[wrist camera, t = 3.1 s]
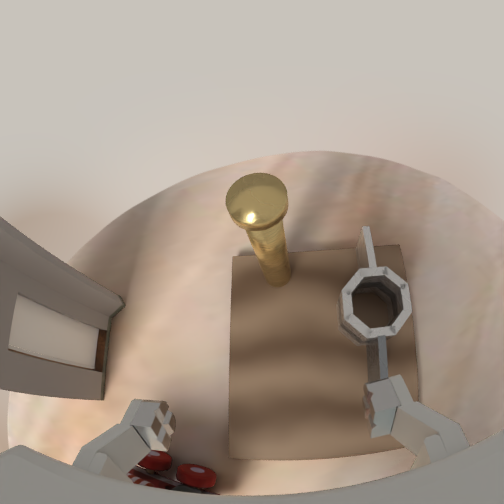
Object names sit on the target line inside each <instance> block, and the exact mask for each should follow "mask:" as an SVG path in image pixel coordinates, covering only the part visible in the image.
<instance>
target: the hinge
mask: <svg viewBox="0 0 504 504" xmlns="http://www.w3.org/2000/svg"><path fill="white" fill-rule="evenodd" d="M355 250H356V257H357V264H358V271H357V272H356V273H355V275H354V276H353V277H352V278H351V279H350V281H349V282H348V283H347V284H346V285H345V287H344V288H343V289H342V290H341V293H340V296H339V299H338V302H337V304H336V307H337V320H338V330H339V331H340V332H341V333H343V334H344V335H345V336H346V337H347V338H348V339H350V340H351V341H352V342H353V343H354V344H355V345H357V346H361V345H366V350H367V368H368V382H372V381H376V380H380V379H384V378H388V362H387V348H386V340H388V339H390V338H391V337H393V336H395V335H396V334H397V332H398V331H399V330H400V328H401V327H402V326H403V324H404V323H405V321H406V320H407V319H408V317H409V316H410V314H411V313H412V306H411V299H410V293H409V287H408V283H407V282H405V281H404V280H403V279H402V278H400V277H399V276H398V275H397V274H395V273H394V272H393V271H392V270H390V269H389V268H388V267H387V266H384V267H377V265H376V259H375V253H374V248H373V243H372V237H371V232H370V227H369V226H362V229H361V233H360V236H359V239H358V243H357V246H356V249H355ZM370 292H374V293H375V294H376V295H377V296H378V297H380V298H381V299H382V300H383V301H385V302H386V303H387V309H388V317H389V322H388V323H387V325H386V326H385V327H379V328H371V329H370V328H369V327H368V326H366V325H365V324H364V323H363V322H362V321H361V320H359V319H358V318H357V317H356V316H355V315H353V306H352V298H353V297H354V295H355V294H359V293H370Z"/></svg>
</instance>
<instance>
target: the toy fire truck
mask: <svg viewBox="0 0 504 504" xmlns="http://www.w3.org/2000/svg"><path fill="white" fill-rule="evenodd" d="M171 462H172V458H171V456H170V455H168V454H167V453H165V452H163V451H158V450H151V451H150V452H149V453H148V454H147V455H146V456H145V457H144V458H143V459H142V460H141V461H140V462H139V463H138V465H139V466H141V467H143V468H141V467H139V466H136V465H135V466H134V467H133V468H132V469H131V470H130V471H129V472H128V473H127V474H126V475H127V476H128V477H129V478H130V479H131V480H132V481H133V483H134V484H139V485H144V486H149V487H154V488H160V489H166V490H173V491H180V492H189V493H199V494H211V495H220V494H216V493H212V492H209V491H206V490H203V489H202V488H211V487H213V486H214V485H215V481H216V473H215V472H214V471H212V470H211V469H209V468H206V467H203V466H199V465H194V464H182V465H180V466H178V468H177V473H176V477H177V480H178V481H179V482H177V481H175V480H172V479H169V478H166V477H163V476H161V475H159V474H158V473H157V472H155V471H165V470H169V469H170V467H171ZM144 468H146V469H144ZM180 482H181V483H180Z"/></svg>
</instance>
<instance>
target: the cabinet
mask: <svg viewBox="0 0 504 504" xmlns="http://www.w3.org/2000/svg"><path fill="white" fill-rule="evenodd" d="M124 307H125V304H124V302H123V300H122V298H121V297H120V296H118V295H117V294H115V293H113V292H112V291H110V290H108V289H106V288H105V287H103V286H101V285H100V284H98V283H96V282H95V281H93V280H91V279H90V278H88V277H87V276H85V275H83V274H82V273H80V272H78V271H77V270H75V269H74V268H72V267H71V266H69V265H68V264H66V263H64V262H63V261H61V260H60V259H58V258H57V257H55V256H54V255H52V254H51V253H49V252H48V251H46V250H45V249H44V248H42V247H41V246H39V245H38V244H36V243H35V242H34V241H32V240H31V239H29V238H28V237H27V236H25V235H24V234H23V233H21V232H20V231H19V230H17V229H16V228H14V227H13V226H12V225H11V224H9V223H8V222H7V221H5V220H4V219H3V218H2V217H0V389H3V390H8V391H13V392H19V393H26V394H33V395H41V396H49V397H59V398H70V399H85V400H104V386H105V373H106V362H107V352H108V343H109V335H110V328H111V321H112V318H113V317H114V316H115V315H116V314H117V313H118V312H119V311H120V310H121V309H122V308H124ZM11 345H12V346H11ZM24 349H25V350H24ZM31 351H32V352H31ZM38 353H39V354H38Z"/></svg>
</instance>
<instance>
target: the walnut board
mask: <svg viewBox="0 0 504 504" xmlns="http://www.w3.org/2000/svg"><path fill="white" fill-rule="evenodd" d="M373 248H374V253H375V259H376V265H377V267H384V266H387V267H388V268H389V269H390V270H392V271H393V272H394V273H395V274H397V275H398V276H399V277H400V278H402V279H403V280H404V281H405V282H407V279H406V274H405V268H404V263H403V258H402V254H401V249H400V245H388V246H374V247H373ZM355 249H356V248H347V249H333V250H319V251H305V252H291V253H288V258H289V264H290V270H291V278H290V280H289V282H288V283H287V284H286V285H284V286H282V287H273V286H271V285H269V284H268V283H267V282H266V279H265V277H264V274H263V272H262V269H261V267H260V264H259V262H258V259H257V257H256V255H248V256H234V257H233V260H232V288H231V322H230V364H229V451H228V458H235V459H250V460H313V459H328V458H339V457H349V456H357V455H364V454H371V453H378V452H383V451H389V450H394V449H399V448H404V447H405V446H404V445H402V444H401V443H400V442H399V441H397V440H396V439H395V438H394V437H393V436H391V434H388V435H384V436H379V437H375V438H370V435H369V431H368V428H367V423H368V420H367V419H366V418H365V416H364V412H363V404H362V400H363V396H364V395H365V394H364V390H363V387H364V383H367V382H368V368H367V350H366V345H361V346H357V345H355V344H354V343H353V342H352V341H351V340H350V339H348V338H347V337H346V336H345V335H344V334H343V333H341V332H340V331H339V330H338V320H337V307H336V304H337V302H338V299H339V296H340V293H341V290H342V289H343V288H344V287H345V285H346V284H347V283H348V282H349V281H350V279H351V278H352V277H353V276H354V275H355V273H356V272H357V271H358V264H357V257H356V250H355ZM352 306H353V315H355V316H356V317H357V318H358V319H359V320H361V321H362V322H363V323H364V324H365V325H366V326H368V327H369V328H370V329H371V328H379V327H385V326H386V325H387V323H388V322H389V317H388V309H387V303H386V302H385V301H383V300H382V299H381V298H380V297H378V296H377V295H376V294H375V293H374V292H370V293H359V294H355V295H354V297H353V298H352ZM386 348H387V362H388V377H392V376H396V375H401V376H402V378H403V380H404V382H405V384H406V386H407V388H408V390H409V393H410V395H411V397H412V399H413V401H414V402H416V401H418V374H417V358H416V346H415V336H414V327H413V319H412V313H411V314H410V316H409V317H408V319H407V320H406V321H405V323H404V324H403V326H402V327H401V328H400V330H399V331H398V332H397V334H396V335H395V336H393V337H391V338H390V339H388V340H386Z"/></svg>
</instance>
